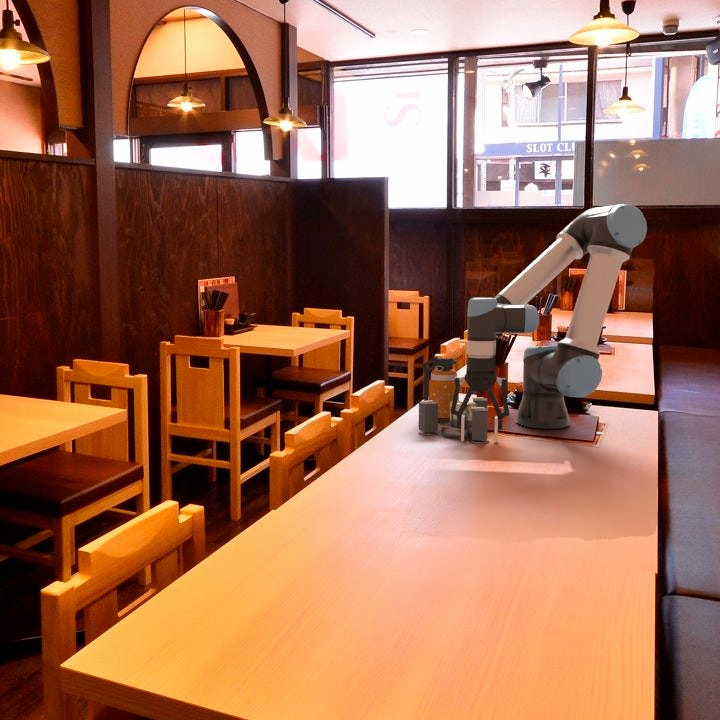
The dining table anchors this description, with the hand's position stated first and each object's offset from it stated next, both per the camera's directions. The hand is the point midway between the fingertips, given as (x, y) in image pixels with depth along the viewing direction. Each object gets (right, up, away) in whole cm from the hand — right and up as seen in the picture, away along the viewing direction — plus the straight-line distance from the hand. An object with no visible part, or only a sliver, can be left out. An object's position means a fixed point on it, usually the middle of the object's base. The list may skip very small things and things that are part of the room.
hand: (479, 440), depth 206 cm
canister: (-8, +3, +26) cm, 27 cm away
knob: (+3, +2, +16) cm, 17 cm away
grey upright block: (-13, +1, +10) cm, 16 cm away
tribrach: (-6, +1, +9) cm, 11 cm away
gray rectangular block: (0, 0, 0) cm, 0 cm away
